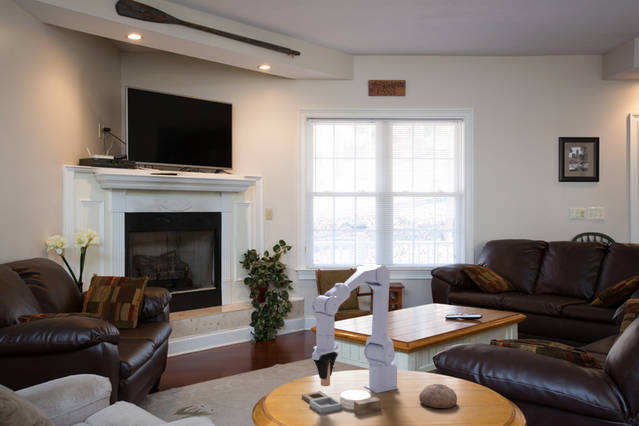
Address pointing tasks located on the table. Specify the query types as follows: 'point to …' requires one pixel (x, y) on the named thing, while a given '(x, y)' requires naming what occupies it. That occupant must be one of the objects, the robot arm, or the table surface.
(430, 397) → the decorative stone
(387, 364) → the robot arm
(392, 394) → the table surface
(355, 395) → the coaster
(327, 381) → the dowel
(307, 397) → the collar
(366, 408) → the brown rectangular block
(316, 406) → the tray
